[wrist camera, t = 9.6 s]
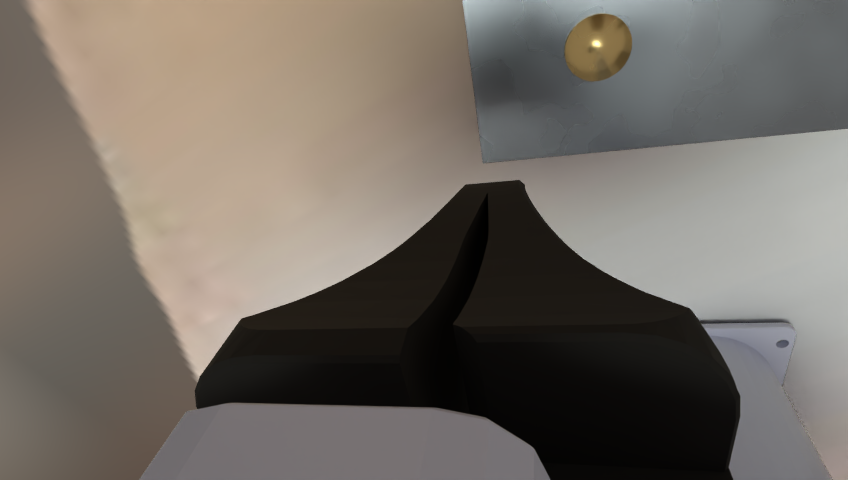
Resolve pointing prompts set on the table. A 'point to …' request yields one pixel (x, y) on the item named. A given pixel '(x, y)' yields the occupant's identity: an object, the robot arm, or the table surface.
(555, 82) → the steel plate with brass
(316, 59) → the table surface
